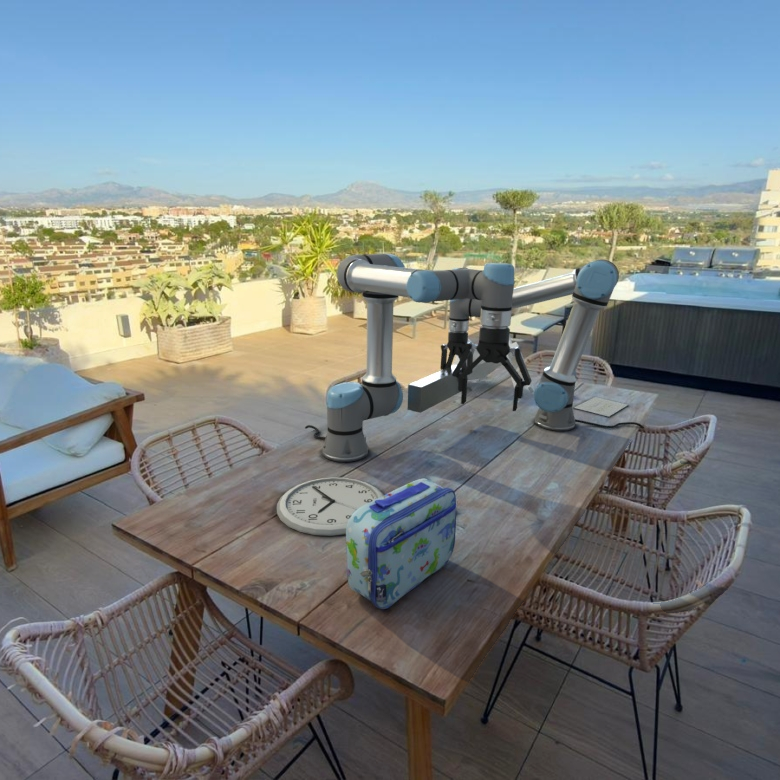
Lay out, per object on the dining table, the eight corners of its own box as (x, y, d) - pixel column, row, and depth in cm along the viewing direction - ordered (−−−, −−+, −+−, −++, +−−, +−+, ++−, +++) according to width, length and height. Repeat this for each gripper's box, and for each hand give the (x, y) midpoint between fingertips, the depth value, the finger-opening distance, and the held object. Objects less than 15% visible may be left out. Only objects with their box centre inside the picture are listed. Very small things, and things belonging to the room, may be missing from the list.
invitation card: (608, 416, 214) (573, 407, 224) (608, 416, 214) (573, 408, 224) (628, 404, 229) (594, 396, 238) (628, 405, 229) (594, 397, 238)
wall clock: (392, 527, 129) (268, 531, 127) (391, 533, 130) (269, 537, 127) (383, 473, 158) (282, 475, 155) (383, 478, 158) (282, 480, 156)
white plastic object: (466, 425, 257) (443, 402, 232) (448, 350, 279) (426, 321, 254) (539, 401, 244) (523, 374, 220) (514, 324, 267) (497, 292, 242)
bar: (453, 387, 210) (454, 364, 208) (465, 389, 207) (467, 366, 205) (407, 409, 183) (408, 384, 180) (420, 412, 180) (421, 387, 178)
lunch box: (375, 622, 100) (376, 527, 94) (339, 595, 108) (338, 505, 101) (459, 565, 118) (465, 481, 112) (424, 545, 125) (427, 465, 119)
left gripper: (443, 324, 133) (439, 403, 139) (544, 333, 124) (535, 417, 130) (451, 320, 139) (447, 395, 146) (547, 328, 131) (539, 408, 137)
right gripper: (432, 329, 201) (430, 387, 208) (476, 335, 191) (472, 396, 198) (442, 326, 207) (439, 383, 214) (484, 332, 197) (480, 391, 204)
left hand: (488, 406), depth 138 cm, fingers open, 13 cm apart
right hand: (455, 389), depth 206 cm, fingers closed on bar, 5 cm apart
